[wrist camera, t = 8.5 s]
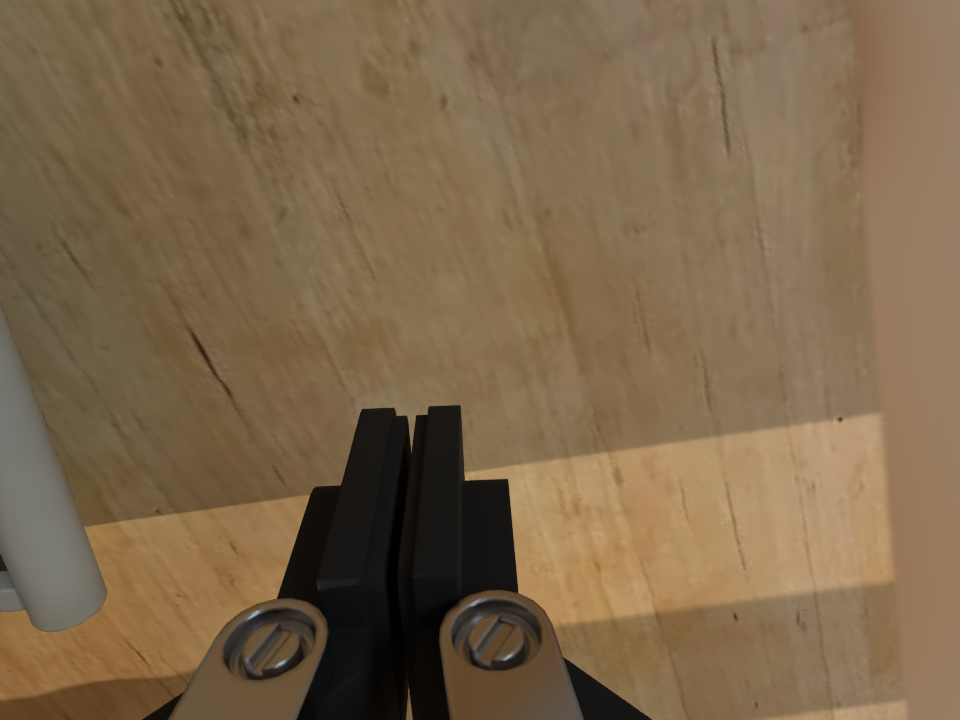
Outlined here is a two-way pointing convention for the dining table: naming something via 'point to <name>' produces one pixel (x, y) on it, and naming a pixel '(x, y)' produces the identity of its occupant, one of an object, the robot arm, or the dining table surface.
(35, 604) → the drawer
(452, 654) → the robot arm
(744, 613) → the dining table surface
